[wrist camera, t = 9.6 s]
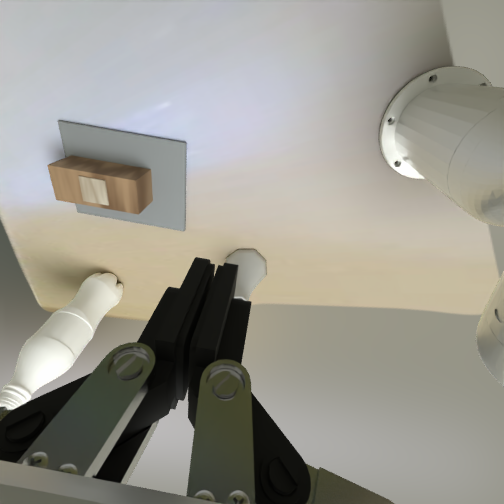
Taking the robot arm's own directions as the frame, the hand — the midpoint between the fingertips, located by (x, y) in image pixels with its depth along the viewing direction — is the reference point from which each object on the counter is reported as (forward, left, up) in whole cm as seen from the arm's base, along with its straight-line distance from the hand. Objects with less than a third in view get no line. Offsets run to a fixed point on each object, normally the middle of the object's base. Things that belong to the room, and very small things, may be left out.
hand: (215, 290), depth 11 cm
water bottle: (+26, +32, -32) cm, 52 cm away
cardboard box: (+16, +10, -29) cm, 35 cm away
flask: (0, +22, -32) cm, 39 cm away
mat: (+20, +10, -32) cm, 39 cm away
